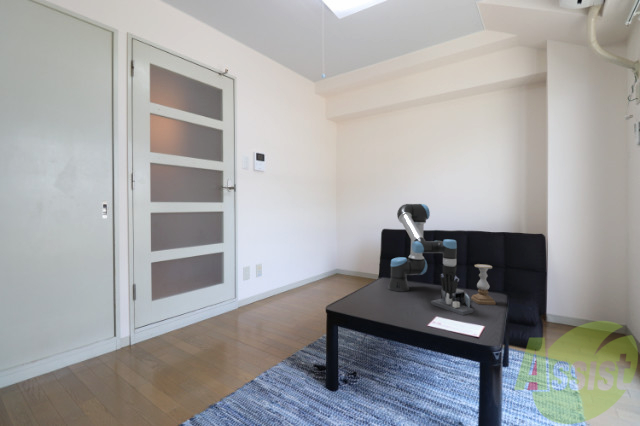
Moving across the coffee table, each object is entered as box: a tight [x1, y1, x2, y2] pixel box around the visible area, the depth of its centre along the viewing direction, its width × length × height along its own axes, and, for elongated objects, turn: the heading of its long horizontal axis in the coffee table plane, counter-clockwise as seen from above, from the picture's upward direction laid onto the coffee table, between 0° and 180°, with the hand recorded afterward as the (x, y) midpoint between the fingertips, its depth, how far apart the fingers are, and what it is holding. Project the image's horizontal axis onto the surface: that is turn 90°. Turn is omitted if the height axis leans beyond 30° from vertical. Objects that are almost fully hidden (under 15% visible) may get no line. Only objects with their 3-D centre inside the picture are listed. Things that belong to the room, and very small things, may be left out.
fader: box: [453, 301, 461, 308], centre depth 171 cm, size 2×3×3 cm
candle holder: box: [470, 263, 496, 306], centre depth 188 cm, size 11×11×24 cm
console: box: [430, 298, 474, 316], centre depth 176 cm, size 22×10×2 cm, turn 29°
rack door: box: [464, 292, 474, 308], centre depth 180 cm, size 3×10×7 cm, turn 164°
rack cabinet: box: [440, 288, 466, 305], centre depth 187 cm, size 10×10×8 cm
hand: (448, 303), depth 175 cm, fingers closed
